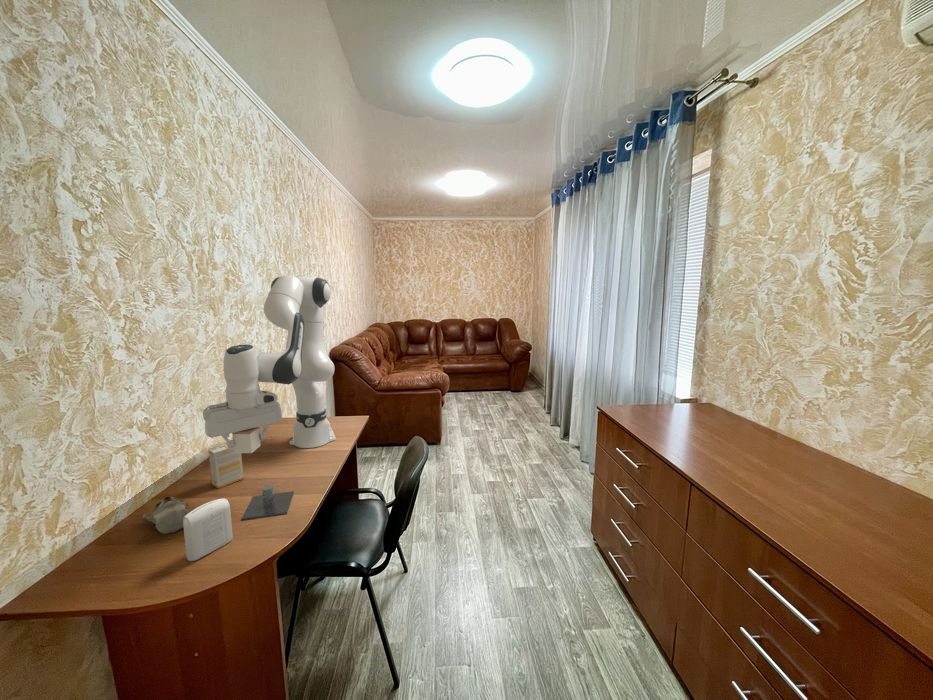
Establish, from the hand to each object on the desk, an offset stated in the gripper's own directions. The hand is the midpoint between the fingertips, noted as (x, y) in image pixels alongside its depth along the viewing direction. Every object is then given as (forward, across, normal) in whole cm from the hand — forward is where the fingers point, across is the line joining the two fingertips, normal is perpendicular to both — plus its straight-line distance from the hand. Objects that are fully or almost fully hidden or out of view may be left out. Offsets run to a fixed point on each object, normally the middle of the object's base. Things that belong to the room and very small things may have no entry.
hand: (247, 442), depth 112 cm
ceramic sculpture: (+20, -20, +4) cm, 28 cm away
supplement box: (+20, -2, +19) cm, 27 cm away
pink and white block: (+2, 0, 0) cm, 2 cm away
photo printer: (+20, -14, -16) cm, 29 cm away
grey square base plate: (+20, +3, -6) cm, 21 cm away
